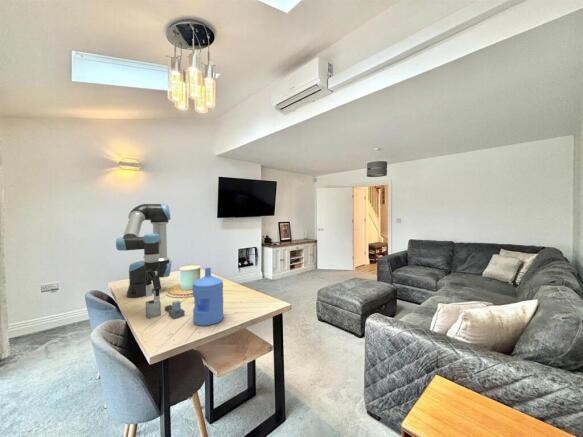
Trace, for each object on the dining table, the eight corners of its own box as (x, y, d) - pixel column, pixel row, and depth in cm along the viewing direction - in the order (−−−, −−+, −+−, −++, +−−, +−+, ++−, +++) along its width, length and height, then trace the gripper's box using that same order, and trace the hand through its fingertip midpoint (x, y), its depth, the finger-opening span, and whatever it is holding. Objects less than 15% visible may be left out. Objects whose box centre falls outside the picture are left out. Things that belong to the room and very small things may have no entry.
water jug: (215, 311, 143) (214, 264, 142) (228, 319, 131) (228, 268, 130) (188, 319, 132) (187, 268, 131) (200, 329, 120) (199, 273, 120)
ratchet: (162, 310, 144) (162, 297, 144) (173, 307, 148) (172, 294, 148) (173, 319, 132) (173, 304, 132) (184, 315, 136) (184, 301, 136)
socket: (145, 315, 137) (145, 301, 137) (157, 312, 141) (156, 298, 141) (149, 318, 133) (148, 304, 133) (160, 315, 137) (160, 301, 137)
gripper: (138, 259, 142) (138, 295, 142) (151, 265, 125) (152, 306, 125) (152, 257, 148) (152, 292, 148) (167, 263, 130) (168, 302, 131)
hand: (152, 298), depth 136 cm, fingers open, 13 cm apart
